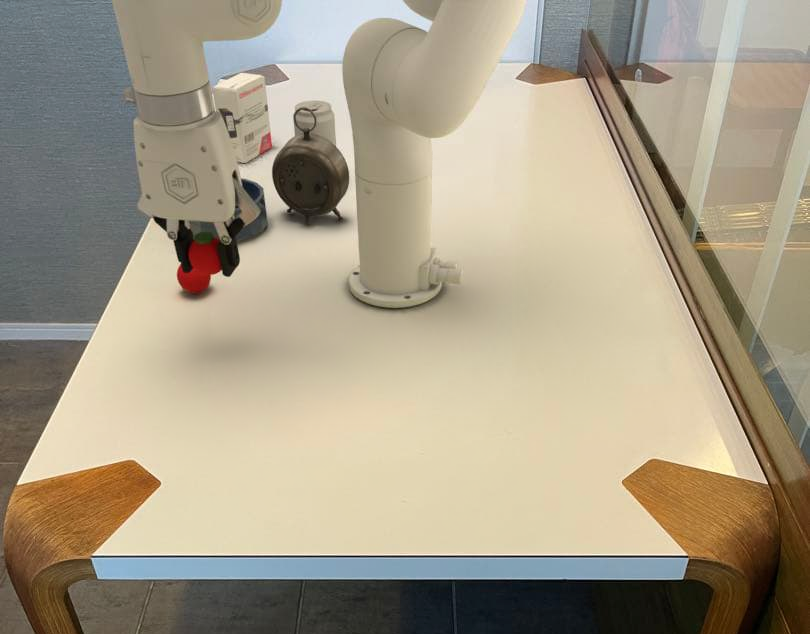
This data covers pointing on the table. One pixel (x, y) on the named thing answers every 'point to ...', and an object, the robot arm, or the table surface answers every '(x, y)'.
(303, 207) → the alarm clock
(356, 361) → the table surface
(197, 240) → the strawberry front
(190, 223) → the bowl
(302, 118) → the beverage can
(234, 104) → the ink box
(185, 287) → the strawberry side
